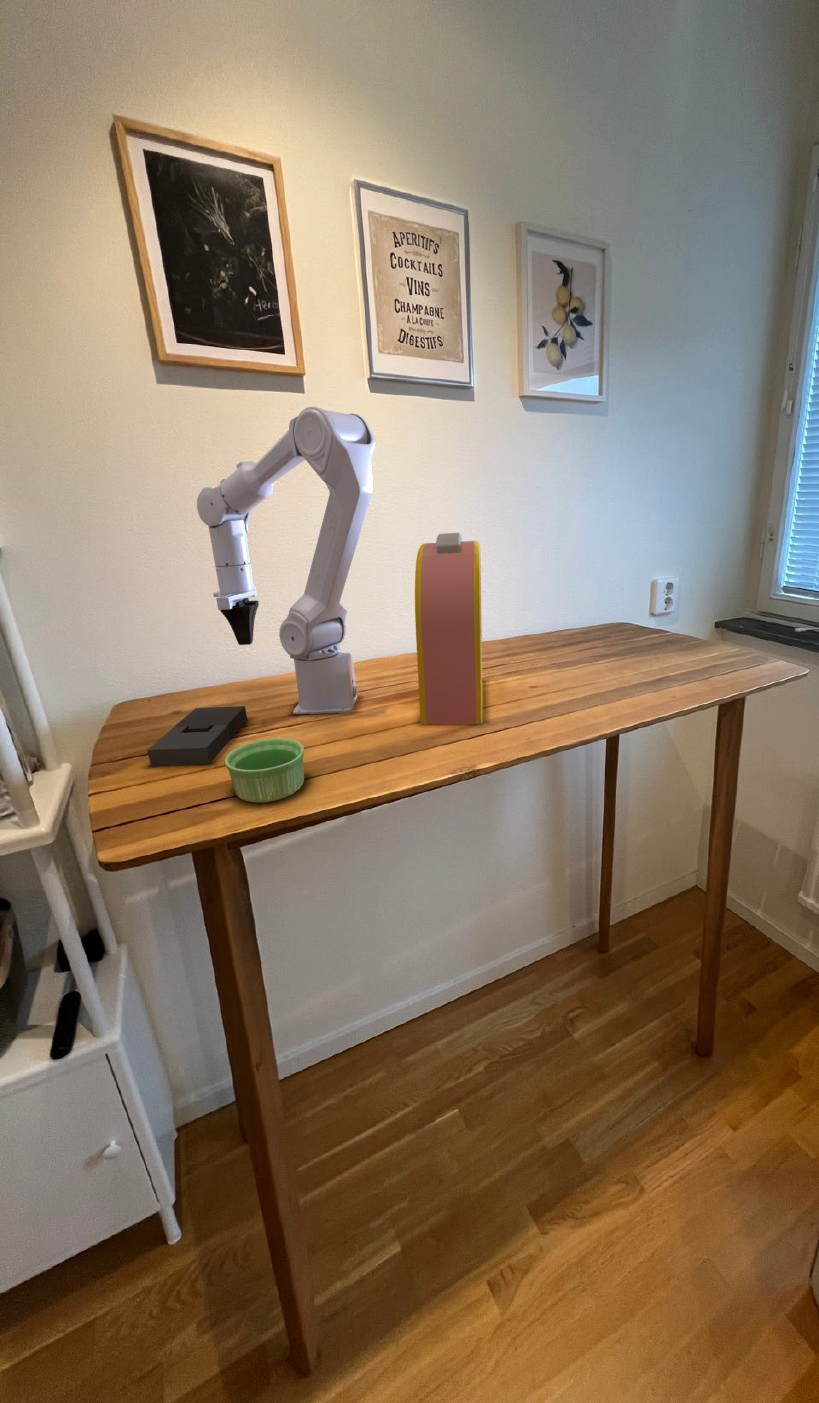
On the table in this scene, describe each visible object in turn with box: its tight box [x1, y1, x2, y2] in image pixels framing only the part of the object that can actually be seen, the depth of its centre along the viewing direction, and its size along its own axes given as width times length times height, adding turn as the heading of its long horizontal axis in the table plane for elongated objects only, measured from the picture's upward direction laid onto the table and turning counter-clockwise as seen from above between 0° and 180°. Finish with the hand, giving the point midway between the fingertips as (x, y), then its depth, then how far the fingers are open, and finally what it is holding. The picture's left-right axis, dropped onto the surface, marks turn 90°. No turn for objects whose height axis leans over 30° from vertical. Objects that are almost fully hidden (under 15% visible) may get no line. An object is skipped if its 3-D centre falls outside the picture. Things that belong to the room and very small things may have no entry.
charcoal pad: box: [146, 725, 231, 767], centre depth 76 cm, size 8×8×2 cm
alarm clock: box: [414, 532, 483, 725], centre depth 86 cm, size 21×9×26 cm, turn 173°
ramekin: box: [224, 737, 305, 803], centre depth 64 cm, size 9×9×4 cm
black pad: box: [173, 705, 248, 740], centre depth 83 cm, size 8×9×2 cm
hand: (245, 643), depth 96 cm, fingers closed
